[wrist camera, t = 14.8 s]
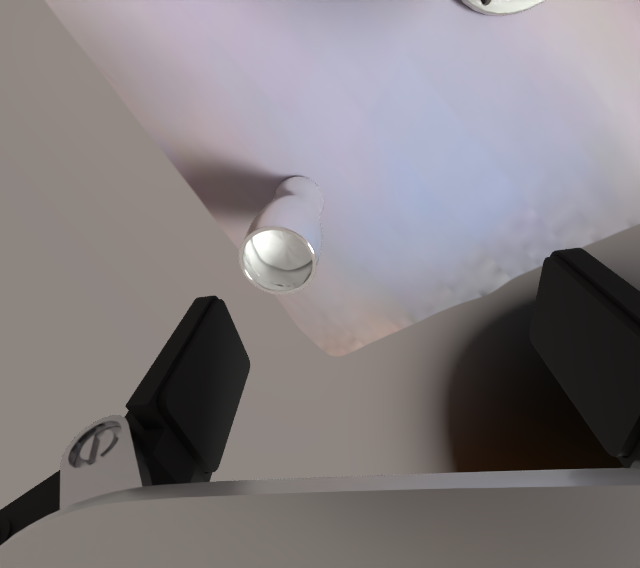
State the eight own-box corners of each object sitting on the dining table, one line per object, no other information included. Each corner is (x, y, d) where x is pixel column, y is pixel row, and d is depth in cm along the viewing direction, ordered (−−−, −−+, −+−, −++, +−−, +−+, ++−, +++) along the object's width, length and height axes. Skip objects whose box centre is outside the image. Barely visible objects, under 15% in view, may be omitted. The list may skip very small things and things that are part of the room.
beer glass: (261, 209, 40) (223, 272, 28) (287, 160, 37) (257, 207, 24) (309, 237, 42) (293, 309, 30) (339, 192, 38) (335, 253, 26)
